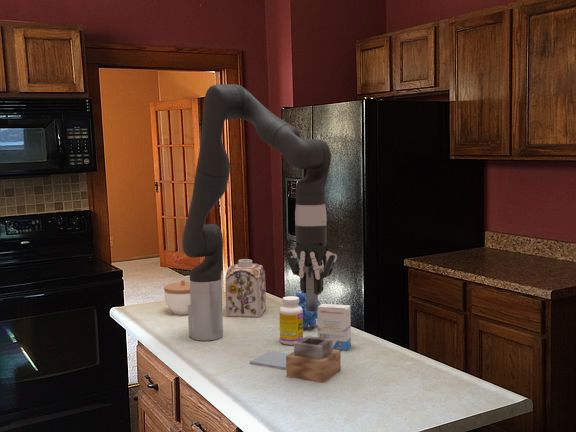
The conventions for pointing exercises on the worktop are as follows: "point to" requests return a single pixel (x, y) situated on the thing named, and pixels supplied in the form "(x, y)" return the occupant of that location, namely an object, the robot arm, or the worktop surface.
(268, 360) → the mat
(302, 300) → the grapes
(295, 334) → the supplement bottle
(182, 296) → the lidded bowl
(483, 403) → the worktop surface
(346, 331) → the ink box
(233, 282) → the decorative jar
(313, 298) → the chuck key
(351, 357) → the worktop surface
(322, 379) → the block
